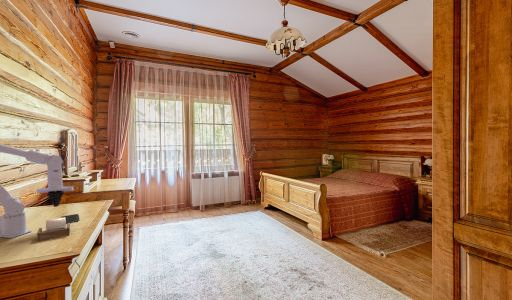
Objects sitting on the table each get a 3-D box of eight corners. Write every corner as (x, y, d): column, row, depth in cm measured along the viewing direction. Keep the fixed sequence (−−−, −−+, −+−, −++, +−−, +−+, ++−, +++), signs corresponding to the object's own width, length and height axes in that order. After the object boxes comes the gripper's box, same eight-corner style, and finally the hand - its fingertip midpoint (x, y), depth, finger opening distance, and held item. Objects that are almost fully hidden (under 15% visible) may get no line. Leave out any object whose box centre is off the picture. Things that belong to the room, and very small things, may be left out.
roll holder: (39, 235, 107) (39, 228, 107) (69, 230, 114) (69, 222, 113) (37, 241, 101) (37, 232, 101) (69, 234, 108) (68, 227, 108)
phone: (60, 223, 122) (60, 216, 134) (60, 225, 122) (61, 218, 134) (79, 219, 127) (78, 213, 139) (79, 222, 127) (78, 215, 139)
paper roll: (46, 232, 112) (45, 221, 111) (47, 229, 116) (46, 219, 116) (65, 229, 116) (65, 218, 116) (66, 226, 120) (65, 216, 120)
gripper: (32, 181, 114) (34, 209, 115) (69, 179, 119) (70, 206, 119) (40, 179, 121) (42, 206, 121) (74, 177, 125) (76, 203, 126)
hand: (56, 206), depth 121 cm, fingers closed
